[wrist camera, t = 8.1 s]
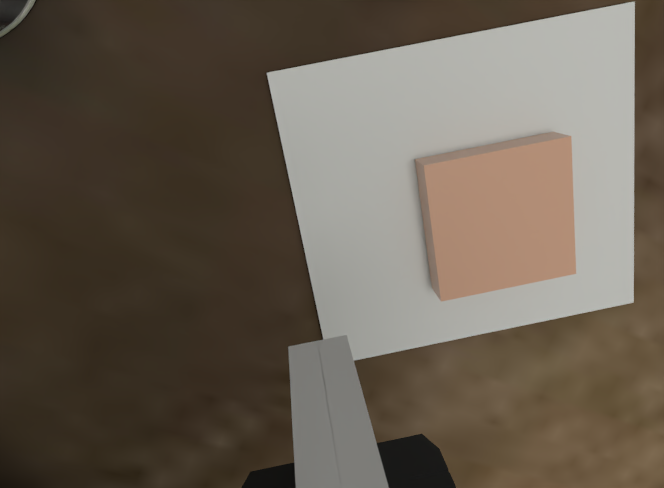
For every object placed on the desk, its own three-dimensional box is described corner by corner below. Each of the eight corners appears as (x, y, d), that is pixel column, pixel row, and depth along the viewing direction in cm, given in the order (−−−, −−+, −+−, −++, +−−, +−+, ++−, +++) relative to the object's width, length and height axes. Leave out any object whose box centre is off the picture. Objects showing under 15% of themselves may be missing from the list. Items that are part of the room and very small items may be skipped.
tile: (440, 301, 31) (576, 273, 31) (423, 165, 28) (571, 136, 28) (430, 286, 33) (557, 260, 33) (413, 158, 30) (551, 131, 31)
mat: (328, 360, 35) (328, 365, 34) (267, 72, 29) (266, 72, 28) (627, 298, 35) (633, 302, 35) (627, 2, 29) (634, 1, 29)
